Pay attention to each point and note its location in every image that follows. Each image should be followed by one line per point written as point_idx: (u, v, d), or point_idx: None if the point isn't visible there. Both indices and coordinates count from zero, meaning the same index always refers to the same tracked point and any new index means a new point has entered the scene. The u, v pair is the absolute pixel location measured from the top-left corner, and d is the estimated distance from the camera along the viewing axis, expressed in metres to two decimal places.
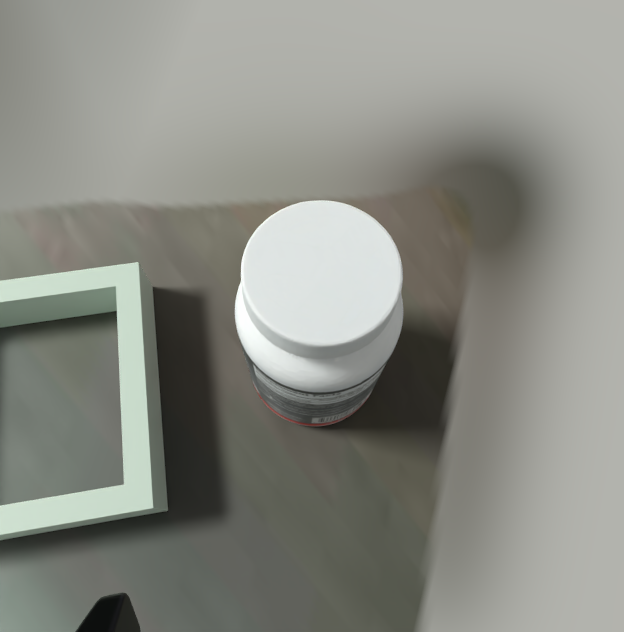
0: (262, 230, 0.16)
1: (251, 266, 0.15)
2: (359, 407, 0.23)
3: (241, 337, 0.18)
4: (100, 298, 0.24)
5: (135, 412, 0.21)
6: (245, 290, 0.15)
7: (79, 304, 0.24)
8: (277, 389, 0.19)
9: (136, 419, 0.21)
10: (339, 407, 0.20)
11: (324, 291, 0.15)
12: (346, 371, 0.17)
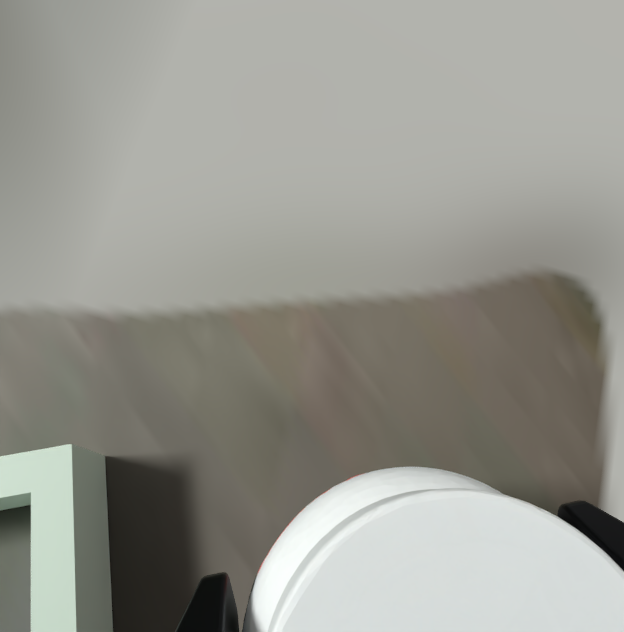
0: (309, 594, 0.06)
1: None
2: None
3: None
4: (11, 500, 0.14)
5: None
6: None
7: None
8: None
9: None
10: None
11: None
12: None
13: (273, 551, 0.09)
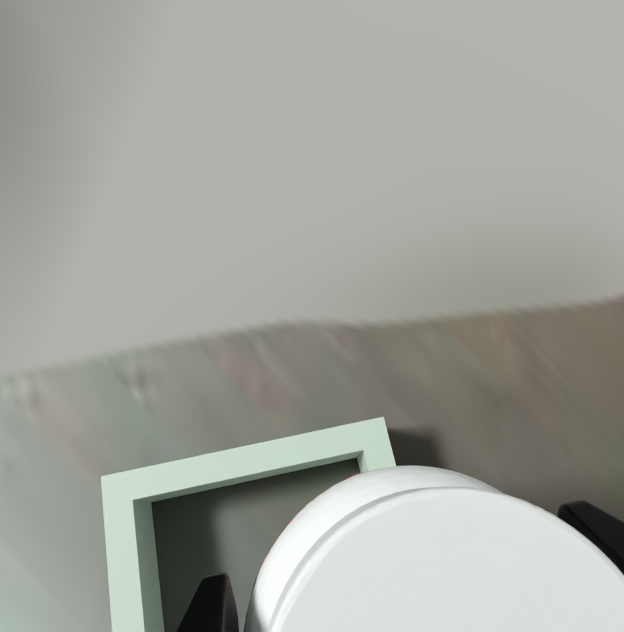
0: (309, 590, 0.06)
1: None
2: None
3: None
4: (336, 458, 0.20)
5: None
6: None
7: (310, 464, 0.20)
8: None
9: None
10: None
11: None
12: None
13: (274, 549, 0.09)
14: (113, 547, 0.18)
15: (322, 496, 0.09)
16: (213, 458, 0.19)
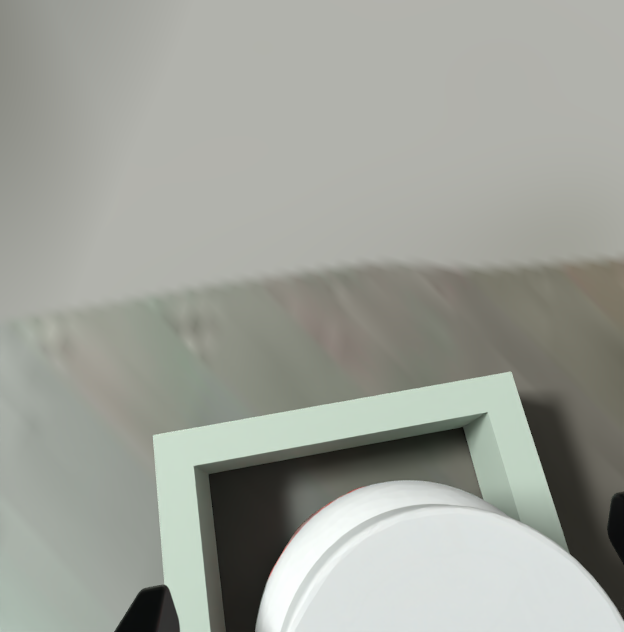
0: (318, 600, 0.07)
1: None
2: None
3: None
4: (447, 423, 0.16)
5: None
6: None
7: (412, 431, 0.16)
8: None
9: None
10: None
11: None
12: None
13: (282, 559, 0.09)
14: (169, 525, 0.14)
15: (326, 509, 0.10)
16: (296, 416, 0.15)
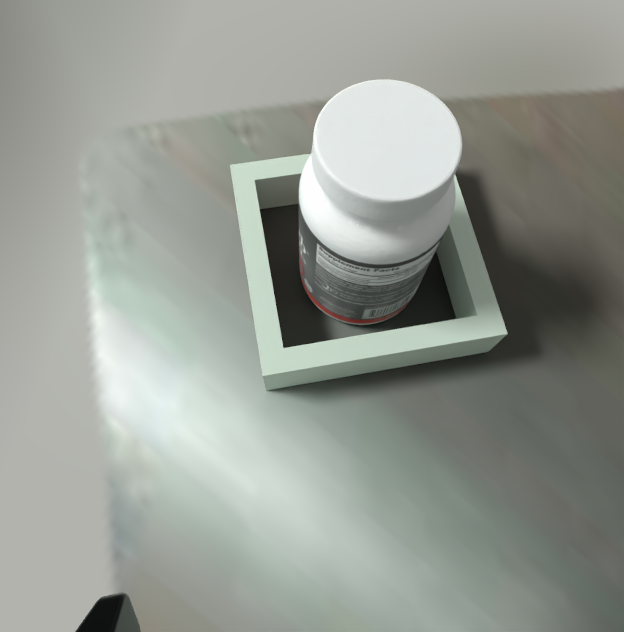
0: (331, 105, 0.17)
1: (323, 135, 0.17)
2: (405, 305, 0.24)
3: (307, 216, 0.19)
4: None
5: (472, 257, 0.24)
6: (319, 156, 0.17)
7: None
8: (338, 269, 0.20)
9: (474, 263, 0.24)
10: (392, 293, 0.22)
11: (391, 156, 0.17)
12: (408, 241, 0.18)
13: None
14: (242, 207, 0.24)
15: None
16: None
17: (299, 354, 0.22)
